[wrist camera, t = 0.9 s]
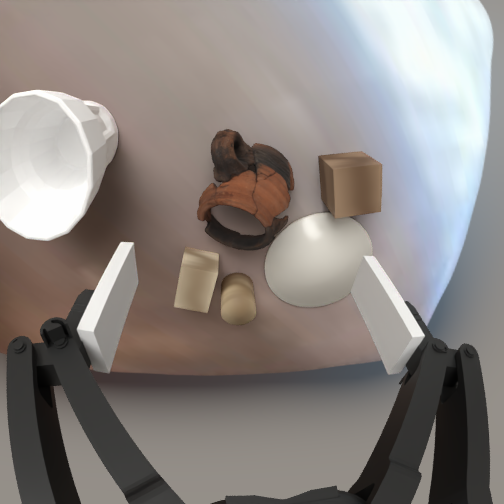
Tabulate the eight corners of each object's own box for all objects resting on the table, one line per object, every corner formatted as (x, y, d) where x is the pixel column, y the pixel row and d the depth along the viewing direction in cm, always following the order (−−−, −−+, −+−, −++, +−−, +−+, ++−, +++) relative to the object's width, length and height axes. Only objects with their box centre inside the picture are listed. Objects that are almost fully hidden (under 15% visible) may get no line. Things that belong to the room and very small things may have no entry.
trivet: (257, 304, 40) (258, 306, 39) (273, 206, 32) (273, 208, 32) (353, 305, 41) (354, 307, 41) (384, 218, 34) (386, 219, 34)
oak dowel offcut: (220, 297, 39) (220, 324, 35) (222, 272, 37) (221, 299, 32) (251, 298, 39) (254, 325, 35) (254, 273, 37) (258, 300, 33)
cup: (124, 203, 31) (86, 258, 22) (35, 180, 28) (-20, 223, 19) (150, 92, 25) (109, 100, 16) (49, 76, 22) (-17, 86, 13)
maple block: (178, 285, 37) (174, 306, 34) (185, 246, 35) (181, 265, 31) (208, 291, 38) (207, 313, 35) (218, 253, 35) (218, 273, 32)
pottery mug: (309, 194, 33) (297, 255, 28) (235, 202, 37) (213, 257, 33) (271, 99, 24) (245, 152, 20) (187, 123, 28) (148, 175, 24)
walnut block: (321, 198, 32) (335, 218, 28) (318, 155, 30) (333, 169, 26) (362, 193, 32) (380, 211, 28) (361, 151, 30) (382, 164, 25)
